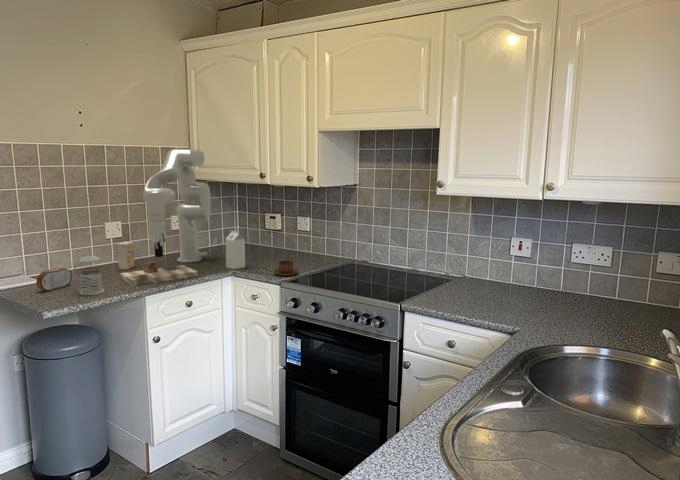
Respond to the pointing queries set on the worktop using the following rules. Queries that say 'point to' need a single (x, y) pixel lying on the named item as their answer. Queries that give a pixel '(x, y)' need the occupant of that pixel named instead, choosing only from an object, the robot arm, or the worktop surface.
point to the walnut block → (150, 267)
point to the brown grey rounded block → (54, 279)
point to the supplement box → (125, 255)
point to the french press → (90, 276)
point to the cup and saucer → (285, 268)
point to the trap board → (157, 275)
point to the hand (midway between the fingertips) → (159, 256)
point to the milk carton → (235, 251)
